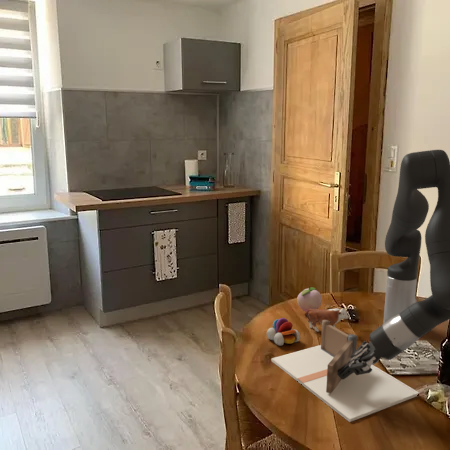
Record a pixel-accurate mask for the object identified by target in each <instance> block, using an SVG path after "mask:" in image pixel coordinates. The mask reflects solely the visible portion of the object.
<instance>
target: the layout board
mask: <svg viewBox="0 0 450 450" xmlns="http://www.w3.org/2000/svg"><path fill="white" fill-rule="evenodd" d="M335 327H336V326H335ZM335 327H333V326H332V325H330V323H329V321H328V320H322V325H321V339H320V340H321V341H320V344H318V345H316V346H311V347H308V348H305V349H301V350H298V351H293V352H290V353H288V354H283V355H279V356H275V357H272V358H271V359H270V361H271V362H272V363H273V364H274V365H276V366H277V367H279V369H281V370H282V371H283V372H284V373H286V374H288V376H290V377H291V378H292V379H294V380H295V381H296V382H297V381H298V382H297V383H298V384H300V385H301V384H302V385H301V386H302V387H304V388H305V389H307V390H308V391H309V392H310V393H311V394H313V395H315V397H316V398H318V399H320V401H322V402H323V403H324V404H326V405H327V406H328V407H329V408H331V409H332V410H333V411H335V412H336V413H337V414H338V415H340V416H341V417H342V419H345V420H346V421H347V422H349V423H351V422H354V421H356V420H359V419H362V418H364V417H367V416H369V415H373V414H375V413H377V412H380V411H382V410H385V409H388V408H390V407H393V406H396V405H398V404H401V403H403V402H405V401H406V402H407V401H408V400H411V399H413V398H416V397H418V396H417V395H418V394H419V395H420V392H419V391H417V390H415V389H414V388H413V387H410V386H409V385H407V384H406V383H404V382H402V381H401V380H399V379H397V378H395V377H394V376H392V375H391V374H389V373H387V372H385V371H383V370H382V369H381V368H379V367H377V366H375V364H374V365H371V367H370V368H371V369H372V371H371V372H370V373H366V374H361V375H356V374H355V373H354V372H353V373H352V374H351V375H349V376H348V377H346V378H345V379H341V381H340V382H339V383H338V385H337V386H336V387H335V389H334V390H333V391H332V393H331V394H330V393H327V392H326V387H327V369H328V364H329V363H330V362H331V360H332V359H333V358H334V357H335V356H336V354H337V353H338V352H339V351H340V350H341V348H342V347H343V346H344V345H345V344H346V343H347V341H348V340H350V341H353V348H352V354H353V353H354V352H355V351H356V350H357V348H358V346H357V343H358V335H356V334H353V333H352V334H351V333H350V334H347V333H346V332H344V331H342V330H340V329H339V328H337V327H336V328H335Z"/></svg>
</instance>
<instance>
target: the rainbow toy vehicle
mask: <svg viewBox="0 0 450 450" xmlns="http://www.w3.org/2000/svg"><path fill="white" fill-rule="evenodd" d="M266 337H267V338H268V340H270V341H273V342H274V344H276V346H280V347H282V346H283V345H284V343H285V344H287V345H288V344H290V345H291V344H293V343H298V342H299V341H300V339H301V334H300V332H299V331H298V330H297V329H296V328H295V329H293V322H291V321H289V320H288V319H287V318H285V317H281V318H279V319H278V318H277V319H275V320H273V323H272V327H269V328H268V329H267V331H266Z"/></svg>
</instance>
